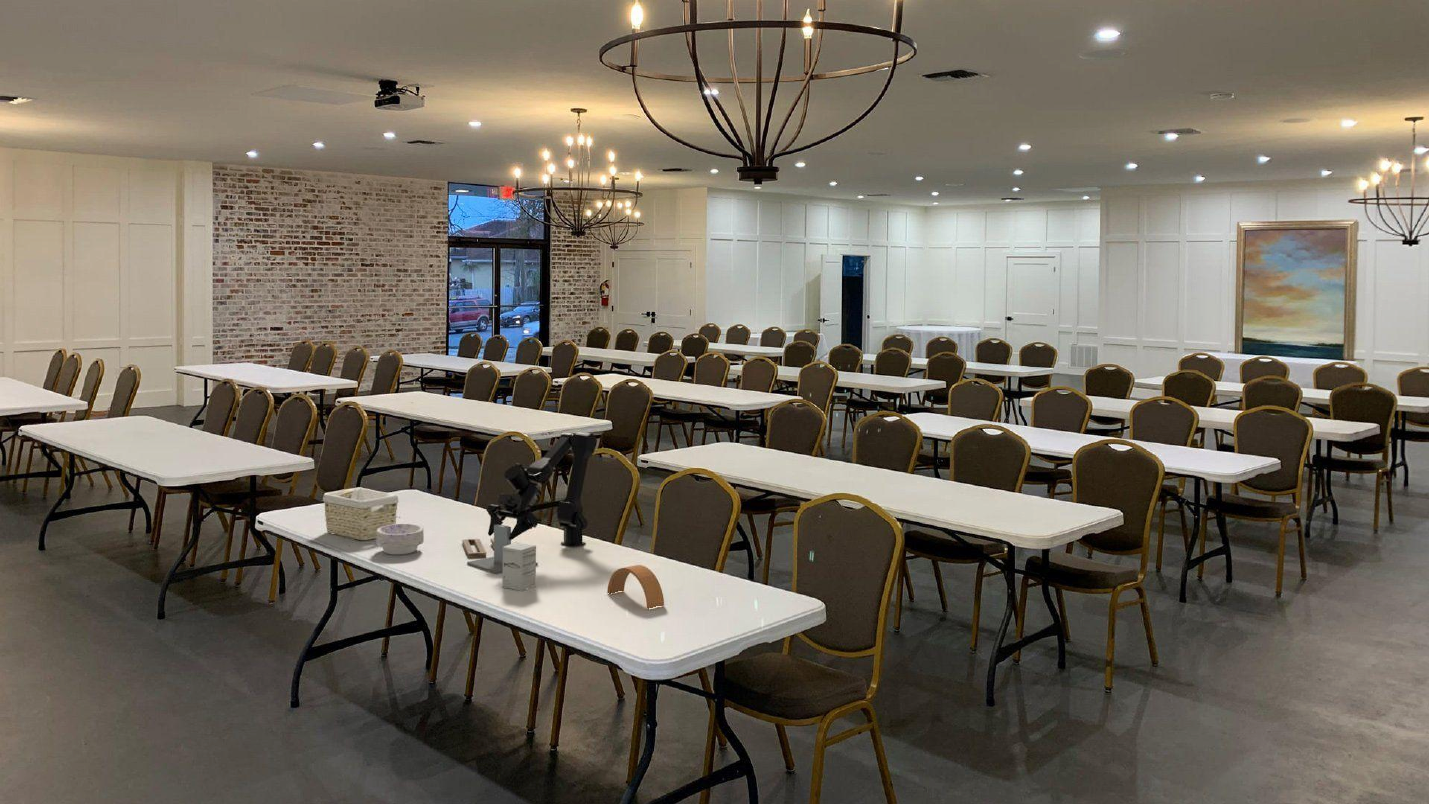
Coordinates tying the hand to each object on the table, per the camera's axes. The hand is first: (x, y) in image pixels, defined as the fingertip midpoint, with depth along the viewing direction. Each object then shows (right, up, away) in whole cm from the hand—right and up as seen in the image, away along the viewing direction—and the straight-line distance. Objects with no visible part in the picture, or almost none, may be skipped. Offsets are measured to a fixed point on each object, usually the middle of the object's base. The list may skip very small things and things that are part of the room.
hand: (499, 537), depth 347 cm
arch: (+46, -14, -34) cm, 59 cm away
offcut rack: (-8, -7, +21) cm, 24 cm away
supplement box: (+10, -12, -22) cm, 27 cm away
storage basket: (-58, -4, +41) cm, 71 cm away
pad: (+1, -9, +2) cm, 9 cm away
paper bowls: (-37, -7, +17) cm, 41 cm away
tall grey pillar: (+1, -8, +2) cm, 9 cm away
